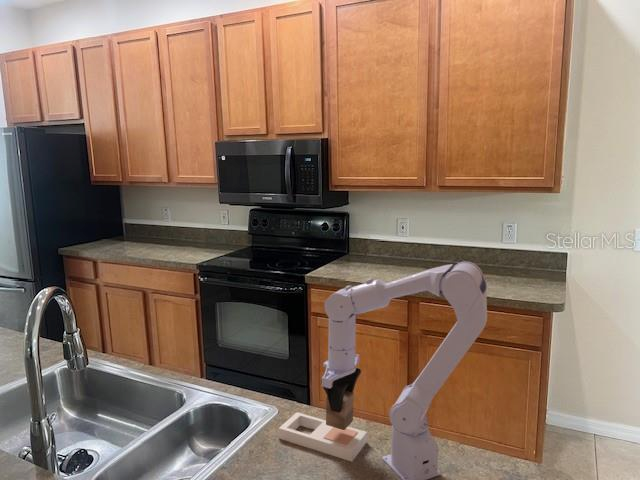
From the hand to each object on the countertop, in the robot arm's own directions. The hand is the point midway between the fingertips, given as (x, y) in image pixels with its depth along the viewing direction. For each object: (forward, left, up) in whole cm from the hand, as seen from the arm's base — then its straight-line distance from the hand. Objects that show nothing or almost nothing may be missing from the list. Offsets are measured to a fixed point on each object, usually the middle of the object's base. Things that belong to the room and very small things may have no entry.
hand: (341, 405), depth 102 cm
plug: (0, 0, -4) cm, 4 cm away
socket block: (+4, +3, -9) cm, 10 cm away
